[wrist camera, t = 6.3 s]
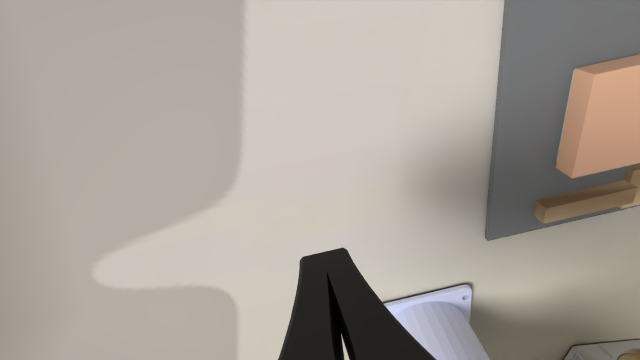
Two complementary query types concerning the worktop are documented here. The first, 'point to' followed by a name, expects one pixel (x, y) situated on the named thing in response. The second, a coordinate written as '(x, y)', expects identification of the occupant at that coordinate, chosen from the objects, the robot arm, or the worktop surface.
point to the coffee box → (606, 351)
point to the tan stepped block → (591, 199)
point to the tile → (601, 118)
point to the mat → (547, 101)
